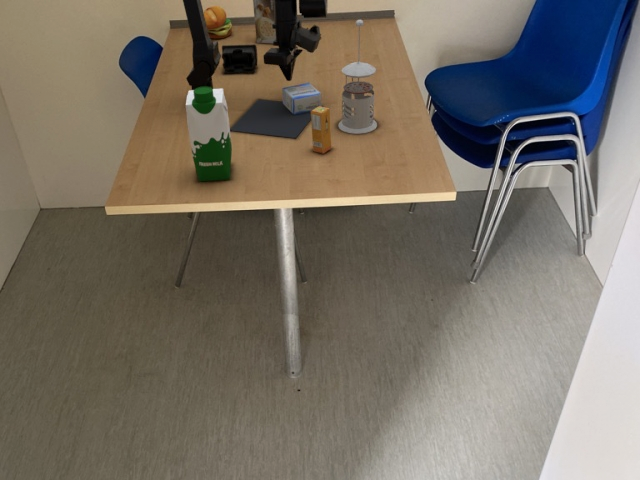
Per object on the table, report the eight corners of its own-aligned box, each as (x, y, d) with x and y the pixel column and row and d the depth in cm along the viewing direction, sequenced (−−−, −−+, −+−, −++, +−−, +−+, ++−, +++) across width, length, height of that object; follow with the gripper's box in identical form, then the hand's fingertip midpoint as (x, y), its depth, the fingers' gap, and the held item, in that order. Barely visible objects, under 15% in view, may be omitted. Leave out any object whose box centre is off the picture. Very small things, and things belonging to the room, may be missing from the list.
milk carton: (194, 183, 152) (180, 96, 138) (197, 164, 158) (184, 79, 145) (233, 181, 151) (223, 93, 138) (234, 162, 158) (225, 76, 145)
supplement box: (320, 145, 163) (319, 105, 156) (331, 149, 161) (331, 108, 154) (311, 150, 161) (310, 110, 154) (323, 154, 159) (322, 113, 152)
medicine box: (309, 82, 181) (321, 93, 175) (309, 98, 184) (322, 109, 178) (281, 87, 179) (293, 98, 173) (282, 104, 182) (294, 115, 176)
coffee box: (288, 37, 222) (285, -16, 211) (282, 44, 217) (279, -10, 207) (261, 36, 224) (257, -17, 214) (255, 43, 220) (251, -11, 209)
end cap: (258, 64, 205) (256, 41, 201) (256, 73, 200) (254, 49, 195) (225, 65, 206) (223, 42, 201) (222, 74, 201) (219, 50, 196)
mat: (295, 138, 166) (295, 137, 166) (229, 130, 171) (228, 130, 171) (321, 106, 180) (321, 105, 180) (258, 99, 185) (258, 99, 185)
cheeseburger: (240, 31, 229) (233, 2, 221) (223, 48, 224) (215, 20, 216) (216, 27, 233) (208, -2, 225) (198, 44, 228) (190, 15, 220)
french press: (345, 136, 166) (346, 29, 149) (330, 117, 174) (329, 14, 158) (383, 129, 167) (387, 23, 151) (366, 111, 176) (369, 8, 159)
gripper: (304, 32, 160) (306, 97, 170) (328, 8, 173) (329, 70, 183) (260, 29, 163) (265, 93, 173) (287, 6, 176) (290, 66, 186)
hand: (289, 80), depth 179 cm, fingers closed
